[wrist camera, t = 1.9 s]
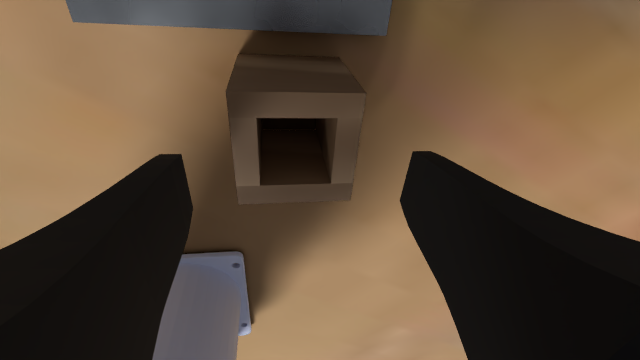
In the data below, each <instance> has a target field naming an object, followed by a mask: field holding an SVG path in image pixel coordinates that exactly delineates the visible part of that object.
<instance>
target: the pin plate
mask: <svg viewBox="0 0 640 360" xmlns="http://www.w3.org/2000/svg"><path fill="white" fill-rule="evenodd" d="M66 3H67V6H68V9H69V12H70V15H71V17H72V20H73V22H83V23H106V24H128V25H151V26H174V27H197V28H220V29H242V30H265V31H288V32H311V33H334V34H356V35H379V36H386V35H387V29H388V23H389V17H390V11H391V5H392V0H66Z"/></svg>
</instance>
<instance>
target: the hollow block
mask: <svg viewBox="0 0 640 360" xmlns="http://www.w3.org/2000/svg"><path fill="white" fill-rule="evenodd" d="M226 98H227V107H228V116H229V125H230V134H231V143H232V153H233V162H234V171H235V180H236V189H237V198H238V205H242V204H270V203H297V202H324V201H350V200H351V193H352V187H353V180H354V173H355V167H356V160H357V153H358V146H359V140H360V133H361V126H362V119H363V113H364V106H365V99H366V92H365V91H364V90H363V88H362V87H361V86H360V84H359V83H358V82H357V80H356V79H355V78H354V76H353V75H352V74H351V72H350V71H349V70H348V68H347V67H346V66H345V65H344V63H343V62H342V61H341V59H340V58H339V57H318V56H287V55H256V54H238V56H237V59H236V62H235V65H234V68H233V71H232V74H231V77H230V80H229V83H228V86H227V89H226ZM262 118H316V130H262Z"/></svg>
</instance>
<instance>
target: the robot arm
mask: <svg viewBox="0 0 640 360" xmlns="http://www.w3.org/2000/svg"><path fill="white" fill-rule="evenodd" d="M400 203H401V206H402V209H403V212H404V215H405V218H406V221H407V223H408V226H409V228H410V230H411V232H412V234H413V236H414V238H415V240H416V242H417V244H418V246H419V248H420V250H421V252H422V253H423V255H424V257H425V259H426V261H427V263H428V265H429V267H430V269H431V271H432V272H433V274H434V276H435V278H436V280H437V282H438V284H439V286H440V288H441V290H442V293H443V295H444V297H445V300H446V302H447V305H448V307H449V310H450V312H451V315H452V317H453V320H454V322H455V325H456V328H457V330H458V333H459V336H460V339H461V342H462V344H463V347H464V350H465V353H466V355H467V358H468V360H640V242H639V241H636V240H632V239H629V238H626V237H623V236H620V235H616V234H613V233H610V232H608V231H605V230H602V229H599V228H596V227H593V226H590V225H587V224H584V223H582V222H579V221H576V220H574V219H571V218H568V217H566V216H563V215H561V214H558V213H556V212H554V211H551V210H549V209H546V208H544V207H541V206H539V205H537V204H535V203H532V202H530V201H528V200H526V199H524V198H521V197H519V196H517V195H515V194H513V193H511V192H509V191H507V190H505V189H503V188H501V187H499V186H497V185H495V184H493V183H491V182H490V181H488V180H486V179H484V178H482V177H480V176H478V175H476V174H475V173H473V172H471V171H469V170H467V169H465V168H464V167H462V166H460V165H458V164H456V163H454V162H452V161H451V160H449V159H447V158H445V157H443V156H441V155H438V154H436V153H434V152H431V151H413V152H412V156H411V160H410V164H409V168H408V171H407V175H406V179H405V183H404V187H403V190H402V194H401V198H400ZM192 211H193V206H192V201H191V196H190V192H189V187H188V183H187V178H186V173H185V169H184V164H183V160H182V155H181V154H159V155H158V156H156V157H154V158H152V159H151V160H149V161H148V162H146V163H145V164H143V165H142V166H140V167H139V168H138V169H136V170H135V171H133V172H132V173H130V174H129V175H128V176H126V177H125V178H123V179H122V180H120V181H119V182H117V183H116V184H114V185H113V186H111V187H110V188H109V189H107V190H106V191H104V192H102V193H101V194H99V195H98V196H96V197H95V198H93V199H91V200H90V201H88V202H87V203H85V204H83V205H82V206H80V207H79V208H77V209H75V210H74V211H72V212H71V213H69V214H67V215H66V216H64V217H62V218H60V219H59V220H57V221H55V222H53V223H51V224H50V225H48V226H46V227H44V228H42V229H40V230H38V231H36V232H35V233H33V234H31V235H29V236H27V237H25V238H23V239H21V240H19V241H17V242H15V243H13V244H11V245H9V246H7V247H5V248H2V249H0V360H236V357H237V345H238V336H240V335H248V334H249V333H250V332H251V320H250V311H249V302H248V293H247V284H246V275H245V266H244V257H243V254H242V253H241V252H238V251H232V252H215V253H198V254H182V253H183V250H184V247H185V244H186V241H187V238H188V234H189V229H190V224H191V217H192ZM235 263H238V264H235Z"/></svg>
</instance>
